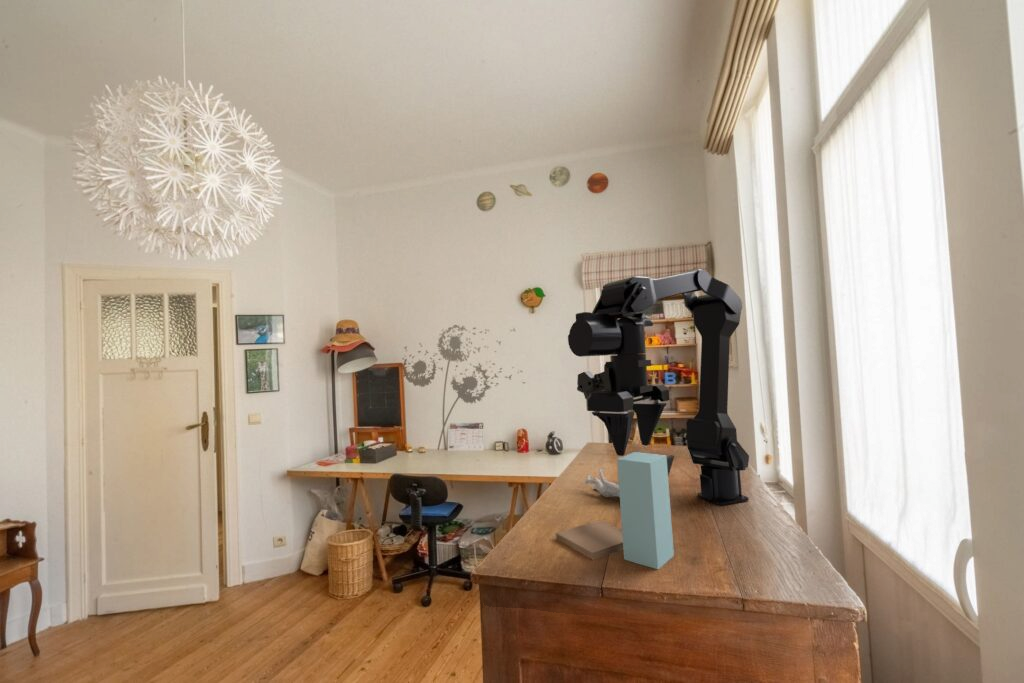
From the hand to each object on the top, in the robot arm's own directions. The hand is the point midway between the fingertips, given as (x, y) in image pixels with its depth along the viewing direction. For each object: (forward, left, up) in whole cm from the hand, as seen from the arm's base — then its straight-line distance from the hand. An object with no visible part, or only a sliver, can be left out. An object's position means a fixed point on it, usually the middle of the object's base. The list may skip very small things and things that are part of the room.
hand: (633, 450), depth 73 cm
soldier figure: (-4, -17, -13) cm, 22 cm away
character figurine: (-13, -17, -13) cm, 25 cm away
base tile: (+8, +1, -13) cm, 16 cm away
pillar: (+4, +9, -13) cm, 16 cm away
